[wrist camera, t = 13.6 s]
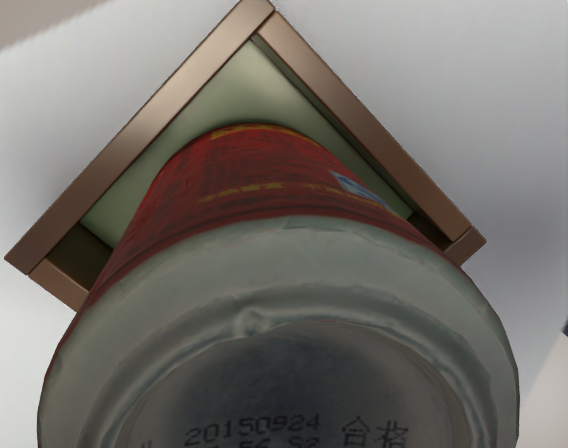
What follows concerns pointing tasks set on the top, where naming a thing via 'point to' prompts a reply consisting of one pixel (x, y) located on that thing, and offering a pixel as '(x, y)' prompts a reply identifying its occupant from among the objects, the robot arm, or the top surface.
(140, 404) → the soda can
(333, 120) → the wooden box tray
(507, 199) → the top surface
